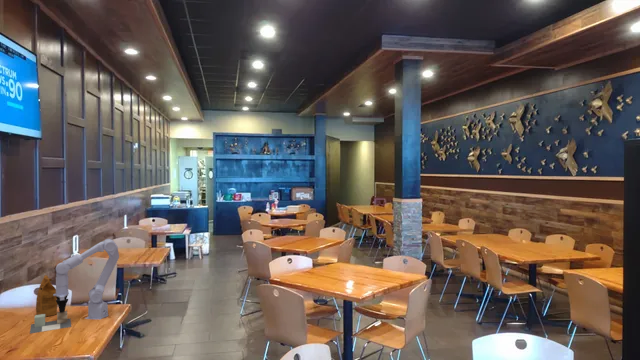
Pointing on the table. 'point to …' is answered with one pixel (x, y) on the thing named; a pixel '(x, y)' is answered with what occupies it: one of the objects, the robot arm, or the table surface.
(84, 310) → the table surface
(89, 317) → the robot arm
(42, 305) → the coffee package
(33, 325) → the board
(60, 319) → the walnut block
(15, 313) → the table surface
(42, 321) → the sage block
